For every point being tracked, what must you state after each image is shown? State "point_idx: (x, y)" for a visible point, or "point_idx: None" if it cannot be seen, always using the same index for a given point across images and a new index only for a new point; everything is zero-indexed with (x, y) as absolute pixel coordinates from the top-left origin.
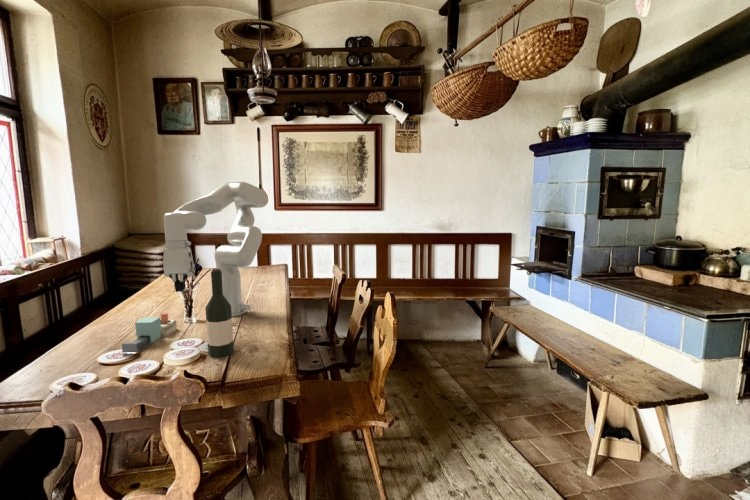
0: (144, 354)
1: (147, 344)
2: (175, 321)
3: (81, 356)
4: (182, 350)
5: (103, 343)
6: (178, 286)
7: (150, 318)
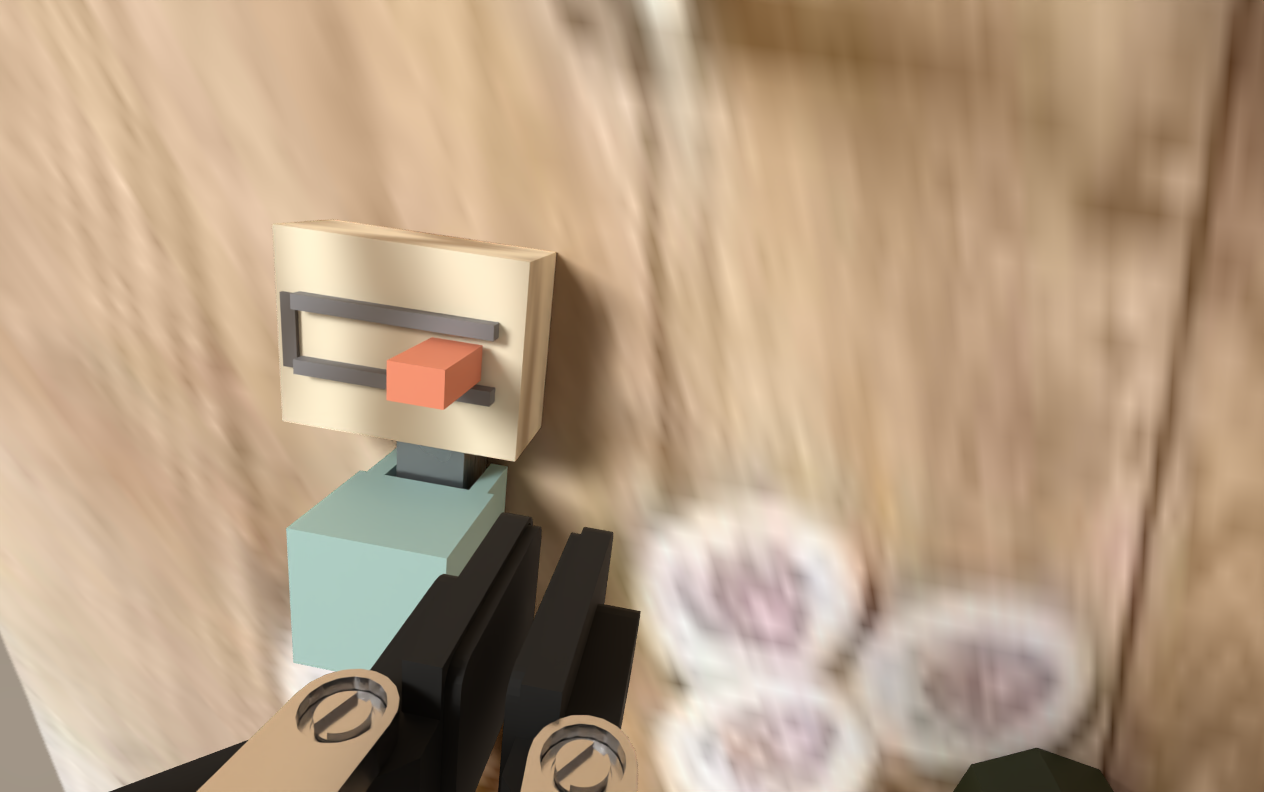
0: None
1: None
2: (533, 276)
3: (184, 669)
4: (752, 716)
5: (160, 488)
6: (502, 688)
7: (368, 574)
